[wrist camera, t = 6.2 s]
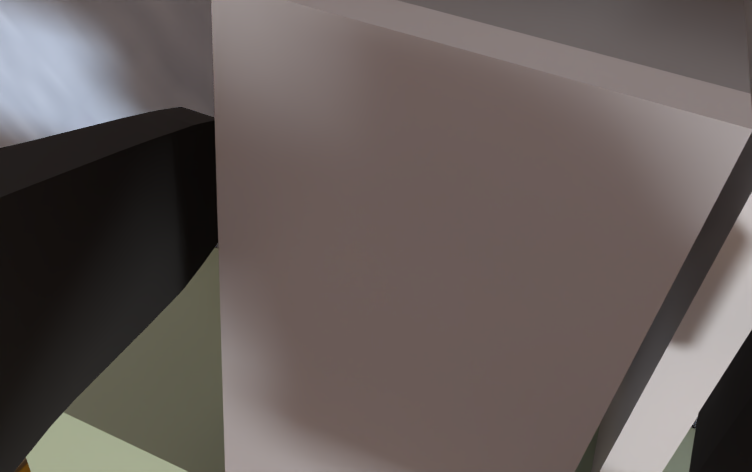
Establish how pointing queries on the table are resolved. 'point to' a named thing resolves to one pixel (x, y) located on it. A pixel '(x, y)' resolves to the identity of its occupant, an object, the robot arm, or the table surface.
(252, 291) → the grey rectangular block
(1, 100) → the table surface
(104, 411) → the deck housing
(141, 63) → the table surface
